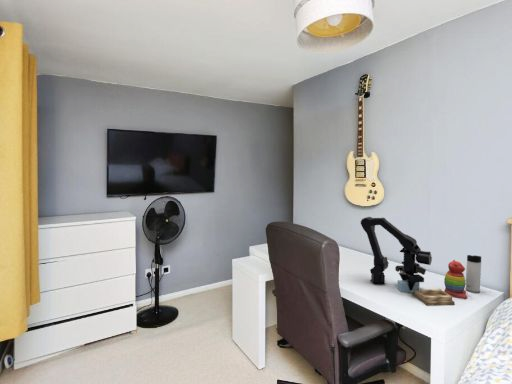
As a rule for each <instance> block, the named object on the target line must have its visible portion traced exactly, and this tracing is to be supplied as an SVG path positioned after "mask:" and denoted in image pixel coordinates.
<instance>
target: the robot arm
mask: <svg viewBox="0 0 512 384" xmlns="http://www.w3.org/2000/svg"><path fill="white" fill-rule="evenodd" d="M360 225H361V227H362V230H363V231H364V232H365V234H366V235H367V239H368V241H369V245H370V248H371V252H372V254H373V267H372V268H370V269H369V271H370V275H371V276H370V278H371V279H370V280H369V281H370V282H371V283H372V284H373V285H386V283H385V281H386V279H385V277H386V275H385V273H384V272H385V271H386V270H387V269H388V267H389V261H388V257H387V256H384V255H383V253H382V250H381V247H380V244H379V241H378V238H377V234H376V232H375V230H376V229H375V228H376V226H380V227H382V228H383V229H384V230H386V231H387V232H388V233H389V234H390V235H392V236H393V237H395V238H396V240H397V241H398V243H399V244H400V245H401V247H402V249H401V250H399V253H403V260H402V261H401V264H402V265H396V266H395V269H394V270H395V271H396V272H397V273H398V275H399V276H400V280H407V283H408V286H409V289H410V290H412V289H413V287H414V285H415V283H416V282H419V283H424V282H425V277H423V275H425V274H426V271H427V269H426V268H424V267H422V266H421V265H426V266H427V265H428V266H431V264H432V260H433V256H432V254H431V253H432V252H431V251H425V250H422V249H421V247H419V245H418V243H417V240H416V238H414V237H412V236H411V235H408V234H405V233H404V232H402V231H401V230H400V229H398V228H397V227H396V226H395V225H393V224H392V223H391V222H390V221H388V220H387V219H386V218H385V217H371V216H366V217H364V218H362V219H361V220H360ZM395 238H394V239H395ZM420 264H421V265H420Z"/></svg>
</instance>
